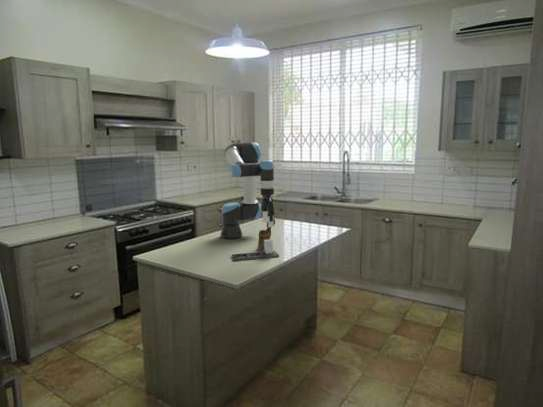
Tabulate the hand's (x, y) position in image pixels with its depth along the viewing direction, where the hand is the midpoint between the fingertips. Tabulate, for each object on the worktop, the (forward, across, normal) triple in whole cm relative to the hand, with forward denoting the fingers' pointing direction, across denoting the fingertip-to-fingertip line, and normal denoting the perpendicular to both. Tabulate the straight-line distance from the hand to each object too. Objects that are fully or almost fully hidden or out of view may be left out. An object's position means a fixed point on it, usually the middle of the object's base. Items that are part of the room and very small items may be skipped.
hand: (268, 224), depth 223 cm
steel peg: (+18, 0, 0) cm, 18 cm away
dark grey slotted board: (+18, 0, -8) cm, 20 cm away
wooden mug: (+18, -16, +3) cm, 25 cm away
